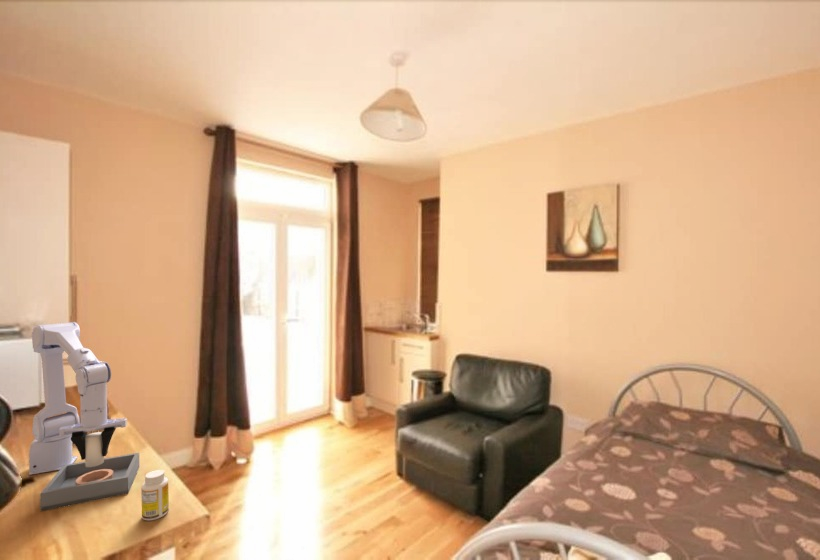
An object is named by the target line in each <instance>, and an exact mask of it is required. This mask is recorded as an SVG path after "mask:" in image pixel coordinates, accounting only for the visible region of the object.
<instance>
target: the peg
mask: <svg viewBox="0 0 820 560" xmlns="http://www.w3.org/2000/svg"><path fill="white" fill-rule="evenodd" d="M101 433H102V432H96V433H93V432H92V433H91V434H89V435H86V436H85V459H84V462H85V466H86V467H94V466H98V465H100V464H102V463H104V458H105V456H102V448H103V443H102V436H101Z"/></svg>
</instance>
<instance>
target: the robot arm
mask: <svg viewBox="0 0 820 560" xmlns="http://www.w3.org/2000/svg"><path fill="white" fill-rule="evenodd" d="M80 328H81V327H80V326H79V324H78V323H77V322H76V321H71V322H64V323H63V322H62V323H61V322H60V323H52V324H51V323H49V324H37V325H35V327H34V328H33V329H32V332H31V343H32V344H31V345H32V349H33V352H34V353H37V354H40V357H41V368H42V380H43V381H42V382H43V394H44V407H43V408H42V409H40V410H39V411H38V412H37V413H36V414H35V415H34V416H33V418H32V419H33V420H32V422H33V423H32V426H31V427H32V428H31V430H32V437H33V438H34V440H33V441H32V442H31V444H30V446H29V450H28V451H29V452H28V457H29V458H28V464H29V467H28V469H29V470H28V471H29V472H28V476H30V475H37V474H41V473H42V474H43V473H48V472H55V471H59V470H60V469H61V468H62V467H63V465H67V464H73V463H75V462H76V460H77V459H78V456H77V455H75V456H73V443H74V446H75V448H77V450H78V452H79V455H80V458H81V461H83V460H84V461H85V436H86V435H87V432H89V431H92V432H93V431H96V430H103V429H104V431H103V432H102V433H101V436H102V443H103V448H102V456H104V457H106V456H108V455H107V454H108V452H109V446H110V443H111V440H112V437H113V435H114V433H115V431H116V429H118V428H125V427H127V425H128V419H127V418H111V419H107V403H108V389H107V387H108V386H107V385H108V384H107V383H109V382H110V381H111V379H112V370H111V367H110V365H109V363H108V362H107V361H101V360H100V359H98V358H97V357H96V355H95V354H94V352H93V351H92V350H91V349H89V348H87V347H84V346H83V345H82V342H81V341H80V337H81V329H80ZM64 352H65V353H66V354H67V359H66V362H67V363H68V365H69V366H70V367H71V368H72V371H74V373H75V383H76V385H77V393H78V394H79V395H80V398H79V399H80V402H79V403H80V416H81V423H80V416H79V412H78V413H77V410H78V409H77V407H76V406H74V405H72V404H69V403H67V398H66V383H65V372H64V371H65V370H64V359H63V358H64V357H63V356H64V355H63V353H64Z"/></svg>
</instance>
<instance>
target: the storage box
mask: <svg viewBox="0 0 820 560" xmlns="http://www.w3.org/2000/svg"><path fill="white" fill-rule="evenodd" d="M139 469H140V452H135V453H128V454H122V455H115V456H110V457H104V463H102V464H100V465H98V466H94V467H86V466H85V461H79V462H74V463H73V464H67V465H63V467H62V468H61V469H60V470H57V471H58V472H56V474H55V475H54V476H53V478H52V479H51V480H50V481H48V484H47V485H46V486H45V487H44V488H43V490H42V491H41V492H40V493H39V495H40V496H39V497H40V499H39V500H40V503H39V504H40V506H39V507H40V508H39V509H40V512H44V511H51V510H53V509H54V510H55V509H59V507H60V508H64V506H65V507H68V505H70V506H73V505H74V506H75V505H78V504H83V503H84V504H86V503H88V502H89V503H90V502H93V501H94V502H95V501H98V500H99V501H100V500H103V499H107V498H114V497H118V496H123V495H129V493H130V491H131V488H132V485H133V483H134V481H135V479H136V476H137V474H138V472H137V471H139Z"/></svg>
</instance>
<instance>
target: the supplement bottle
mask: <svg viewBox="0 0 820 560" xmlns="http://www.w3.org/2000/svg"><path fill="white" fill-rule="evenodd" d="M140 489H141V490H140V491H141V492H140V493H141V518H142V519H143V520H144V521H155V520H158V519H161V518H162V517H164V516H165V515H167V513H168V512H169V509H170V502H169V479H168V477H167V476H165V470H164V469H163V470H162V469H156V470H152V471H149V472H147V473H146V474H145V476H144V482H142V484H141V487H140Z"/></svg>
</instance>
